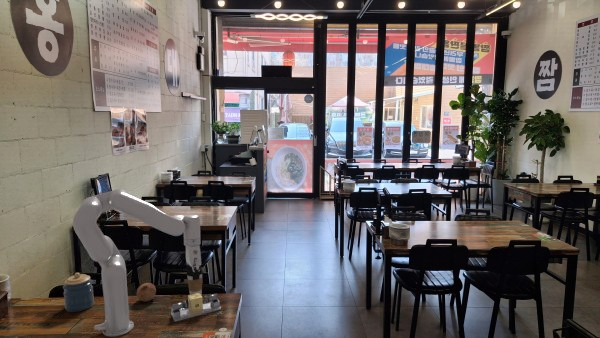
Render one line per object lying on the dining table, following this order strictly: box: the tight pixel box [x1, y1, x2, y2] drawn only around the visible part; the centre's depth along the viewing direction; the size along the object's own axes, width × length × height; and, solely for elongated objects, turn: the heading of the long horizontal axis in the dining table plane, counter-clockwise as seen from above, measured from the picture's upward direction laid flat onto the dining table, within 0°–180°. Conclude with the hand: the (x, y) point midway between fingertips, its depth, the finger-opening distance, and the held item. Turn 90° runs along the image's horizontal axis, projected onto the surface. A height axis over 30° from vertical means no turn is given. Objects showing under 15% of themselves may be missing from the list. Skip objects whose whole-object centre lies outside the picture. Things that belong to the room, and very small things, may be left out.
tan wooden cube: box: [187, 293, 204, 314], centre depth 188 cm, size 6×6×7 cm
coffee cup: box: [186, 265, 204, 296], centre depth 206 cm, size 8×8×15 cm
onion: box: [136, 282, 157, 303], centre depth 202 cm, size 10×9×10 cm
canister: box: [62, 272, 95, 313], centre depth 196 cm, size 13×13×18 cm
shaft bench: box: [170, 293, 222, 323], centre depth 189 cm, size 22×8×7 cm, turn 121°
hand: (193, 276), depth 187 cm, fingers open, 9 cm apart
